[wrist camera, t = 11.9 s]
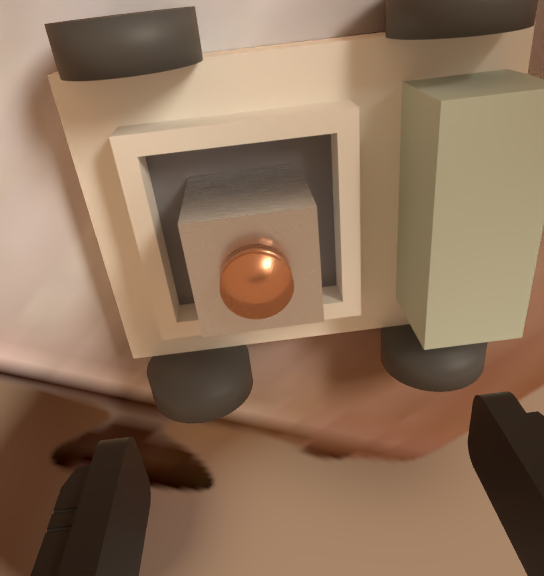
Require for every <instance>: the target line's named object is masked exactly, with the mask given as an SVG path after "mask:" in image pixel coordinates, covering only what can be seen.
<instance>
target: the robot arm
mask: <svg viewBox="0 0 544 576" xmlns="http://www.w3.org/2000/svg"><path fill="white" fill-rule="evenodd" d="M468 449H469V455H470V459H471V462H472V465H473V467H474V469H475V471H476V473H477V475H478V477H479V479H480V481H481V483H482V485H483V487H484V489H485V491H486V493H487V495H488V497H489V499H490V501H491V503H492V505H493V507H494V509H495V511H496V513H497V515H498V517H499V519H500V521H501V523H502V525H503V527H504V529H505V531H506V533H507V535H508V537H509V539H510V541H511V543H512V545H513V547H514V549H515V551H516V553H517V555H518V557H519V559H520V561H521V563H522V565H523V567H524V569H525V571H526V573H527V575H528V576H544V416H543V415H542V414H541V413H539V412H530V413H526V412H525V410H524V409H523V408H522V406H521V405H520V403H519V402H518V400H517V399H516V397H515V396H514V395H513V394H512V393H511V392H500V393H492V394H484V395H476V396H475V397H474V400H473V406H472V413H471V420H470V428H469V435H468ZM150 498H151V493H150V483H149V479H148V476H147V473H146V470H145V467H144V464H143V461H142V458H141V456H140V453H139V450H138V447H137V444H136V442H135V439H134V438H133V437H127V438H118V439H110V440H102V441H99V442H98V444H97V446H96V449H95V452H94V455H93V458H92V462H91V465H90V466H83V467H77V468H76V469H75V471H74V472H73V473H72V475H71V476H70V477H69V478H68V480H67V481H66V482H65V484H64V485H63V486H62V488H61V490H60V493H59V496H58V499H57V502H56V505H55V507H54V514H52V516H51V519H50V522H49V525H48V528H47V530H48V531H47V533H45V536H44V539H43V542H42V545H41V548H40V551H39V554H38V556H37V559H36V562H35V565H34V568H33V571H32V573H31V576H139V570H140V564H141V557H142V552H143V546H144V539H145V533H146V528H147V521H148V515H149V509H150Z"/></svg>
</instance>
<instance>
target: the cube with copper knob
mask: <svg viewBox="0 0 544 576" xmlns="http://www.w3.org/2000/svg"><path fill="white" fill-rule="evenodd" d="M178 229H179V233H180V238H181V242H182V247H183V251H184V256H185V260H186V265H187V270H188V274H189V279H190V283H191V288H192V292H193V297H194V302H195V306H196V311H197V315H198V320H199V324H200V329H201V333H202V338H203V337H211V336H218V335H226V334H233V333H241V332H249V331H256V330H264V329H272V328H279V327H287V326H295V325H302V324H310V323H318V322H324V309H323V294H322V278H321V263H320V247H319V232H318V217H317V206H316V203H315V201H314V198H313V196H312V194H311V191H310V189H309V186H308V184H307V182H306V179H305V177H304V174H303V172H302V170H301V167H300V165H299V163H291V164H283V165H276V166H268V167H260V168H252V169H244V170H236V171H229V172H221V173H213V174H205V175H197V176H189V177H188V180H187V185H186V189H185V194H184V198H183V202H182V207H181V211H180V216H179V220H178Z"/></svg>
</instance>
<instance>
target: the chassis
mask: <svg viewBox="0 0 544 576" xmlns="http://www.w3.org/2000/svg"><path fill="white" fill-rule="evenodd" d="M537 3H538V0H386V26H385V32H380V33H371V34H363V35H354V36H346V37H337V38H329V39H320V40H312V41H303V42H295V43H286V44H277V45H269V46H260V47H252V48H243V49H235V50H226V51H218V52H209V53H202V50H201V44H200V37H199V31H198V24H197V18H196V12H195V7H182V8H172V9H163V10H154V11H145V12H136V13H128V14H119V15H111V16H103V17H95V18H86V19H79V20H71V21H63V22H56V23H49V24H44V25H45V28H46V32H47V35H48V38H49V42H50V45H51V49H52V52H53V55H54V59H55V62H56V66H57V69H58V71H57V72H54V73H52V74H50V75H48V76H47V77H48V81H49V84H50V87H51V90H52V94H53V97H54V100H55V103H56V107H57V110H58V113H59V117H60V120H61V123H62V126H63V130H64V133H65V136H66V140H67V143H68V146H69V149H70V153H71V156H72V159H73V163H74V166H75V169H76V172H77V176H78V179H79V182H80V185H81V189H82V192H83V195H84V199H85V202H86V205H87V208H88V212H89V215H90V218H91V222H92V225H93V228H94V231H95V235H96V238H97V241H98V244H99V248H100V251H101V254H102V258H103V261H104V264H105V267H106V271H107V274H108V277H109V281H110V284H111V287H112V290H113V294H114V297H115V300H116V304H117V307H118V310H119V313H120V317H121V320H122V323H123V326H124V330H125V333H126V336H127V340H128V343H129V346H130V349H131V353H132V356H133V359H135V358H143V357H151V356H153V357H152V358H151V360H150V362H149V364H148V367H147V376H148V379H149V383H150V386H151V390H152V393H153V396H154V400H155V403H156V406H157V408H158V409H159V411H160V412H161V413H162V414H163V415H165V416H166V417H168V418H170V419H172V420H175V421H178V422H183V423H203V422H208V421H212V420H216V419H218V418H221V417H223V416H225V415H228V414H229V413H231V412H233V411H234V410H236V409H237V408H238V407H239V406H240V405H241V404H243V403H244V401H245V400H246V399H247V397H248V396H249V394H250V392H251V390H252V385H253V378H252V372H251V366H250V359H249V353H248V349H247V347H246V345H247V344H255V343H263V342H271V341H279V340H287V339H295V338H303V337H311V336H319V335H327V334H335V333H343V332H351V331H359V330H367V329H375V328H381V361H382V364H383V366H384V368H385V369H386V370H387V372H388V373H389V374H390V375H391V376H392V377H394V378H395V379H396V380H398V381H400V382H401V383H403V384H405V385H408V386H410V387H413V388H416V389H420V390H425V391H434V392H445V391H453V390H458V389H461V388H464V387H466V386H469V385H470V384H472V383H473V382H475V381H476V380H477V379H478V378H479V377H480V375H481V374H482V371H483V368H484V361H485V354H486V348H487V342H491V341H499V340H507V339H515V338H522V335H523V330H524V324H525V319H526V314H527V309H528V303H529V298H530V293H531V288H532V282H533V277H534V272H535V267H536V262H537V256H538V251H539V246H540V241H541V235H542V230H543V225H544V79H543V78H540V77H536V76H532V75H528V68H529V61H530V55H531V48H532V41H533V35H534V28H535V21H536V18H535V17H536V10H537ZM291 163H299V165H300V167H301V170H302V172H303V174H304V177H305V179H306V182H307V184H308V186H309V189H310V191H311V194H312V196H313V198H314V201H315V203H316V206H317V217H318V232H319V247H320V263H321V278H322V294H323V309H324V322H318V323H310V324H302V325H295V326H287V327H279V328H272V329H264V330H256V331H249V332H241V333H233V334H226V335H218V336H211V337H203V338H202V333H201V329H200V324H199V320H198V315H197V311H196V306H195V302H194V297H193V292H192V288H191V283H190V279H189V274H188V270H187V265H186V260H185V256H184V251H183V247H182V242H181V238H180V233H179V229H178V220H179V216H180V211H181V207H182V202H183V198H184V194H185V189H186V185H187V180H188V177H189V176H197V175H205V174H213V173H221V172H229V171H236V170H244V169H252V168H260V167H268V166H276V165H283V164H291Z"/></svg>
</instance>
